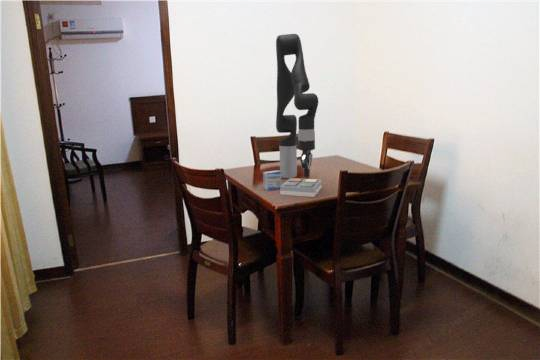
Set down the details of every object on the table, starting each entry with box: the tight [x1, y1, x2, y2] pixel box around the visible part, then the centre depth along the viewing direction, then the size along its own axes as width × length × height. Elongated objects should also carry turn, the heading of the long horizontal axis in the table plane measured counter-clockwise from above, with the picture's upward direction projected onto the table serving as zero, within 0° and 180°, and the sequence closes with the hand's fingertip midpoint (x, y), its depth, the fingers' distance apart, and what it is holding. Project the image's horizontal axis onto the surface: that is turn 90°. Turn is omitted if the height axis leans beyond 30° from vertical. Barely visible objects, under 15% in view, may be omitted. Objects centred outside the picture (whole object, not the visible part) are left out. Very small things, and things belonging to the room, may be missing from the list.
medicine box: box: [262, 169, 282, 192], centre depth 196 cm, size 8×4×9 cm, turn 114°
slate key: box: [285, 182, 298, 187], centre depth 188 cm, size 5×5×2 cm
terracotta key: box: [290, 177, 303, 183], centre depth 195 cm, size 5×5×2 cm
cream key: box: [305, 178, 318, 183], centre depth 192 cm, size 5×5×2 cm
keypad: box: [279, 178, 323, 198], centre depth 191 cm, size 16×16×4 cm
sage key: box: [300, 183, 314, 188], centre depth 186 cm, size 5×5×2 cm
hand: (306, 176), depth 184 cm, fingers closed
